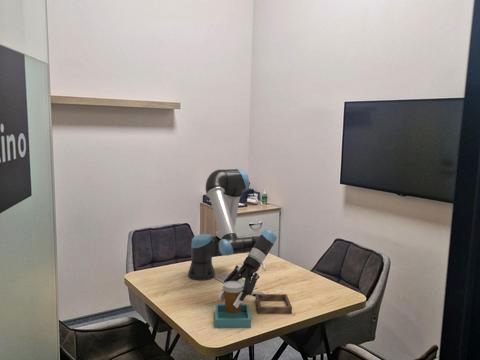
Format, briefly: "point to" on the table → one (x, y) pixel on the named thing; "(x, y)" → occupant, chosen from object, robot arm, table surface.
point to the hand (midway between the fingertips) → (227, 302)
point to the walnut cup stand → (273, 309)
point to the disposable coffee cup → (232, 295)
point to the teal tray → (232, 317)
